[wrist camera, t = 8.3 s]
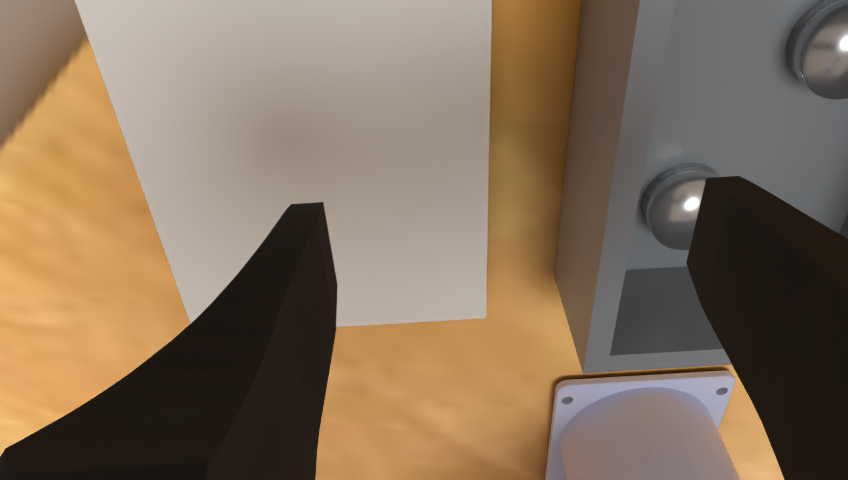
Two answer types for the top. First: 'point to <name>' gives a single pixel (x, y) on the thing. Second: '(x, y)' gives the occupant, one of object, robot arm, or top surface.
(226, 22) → the white slab
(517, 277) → the top surface
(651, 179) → the gray open box
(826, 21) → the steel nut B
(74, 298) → the top surface
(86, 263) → the top surface
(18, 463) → the robot arm
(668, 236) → the chrome dome knob
